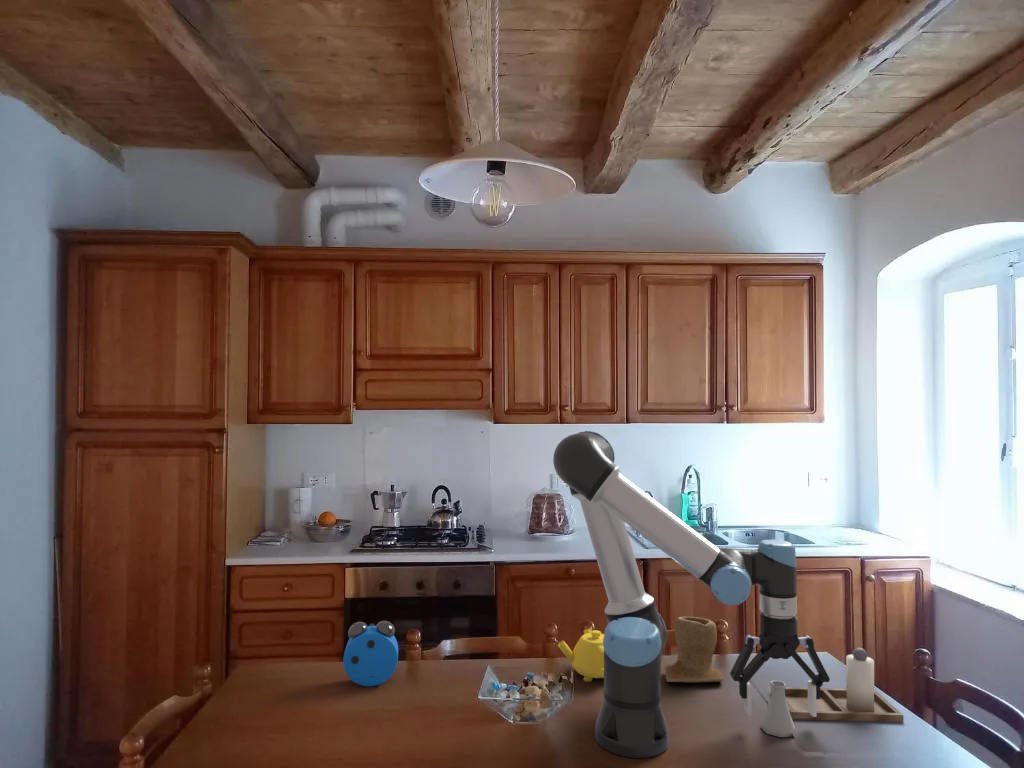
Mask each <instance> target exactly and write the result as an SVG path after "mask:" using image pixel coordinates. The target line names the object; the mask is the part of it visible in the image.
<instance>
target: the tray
mask: <svg viewBox="0 0 1024 768" xmlns="http://www.w3.org/2000/svg"><path fill="white" fill-rule="evenodd" d="M770 691H771V694H772V686H771V690H770ZM820 695H821V697H820V699H816V711H817V717H813V716H812V715H811V714H810V713H809V711H808V687H797V686H796V687H794V686H786V687H785V698H786V703H787V706H788V709H789V712H790V715H791V718H792V720H802V721H803V720H806V721H808V720H810V721H840V722H841V721H845V722H876V723H877V722H880V723H904V714H903V713H902V712H901V711H899V710H898V709H897V708H895V706H894V705H893V704H892V703H891V702H889V700H887V699H886V697H885V698H884V697H883V695H882V694H881V693H879V692H878V691H877V690H876V689H874V712H855V711H853V710H851V709H849V708H848V707H847V705H846V688H840V687H839V688H837V687H836V688H834V687H831V688H830V687H820Z"/></svg>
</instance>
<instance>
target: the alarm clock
mask: <svg viewBox="0 0 1024 768" xmlns="http://www.w3.org/2000/svg"><path fill="white" fill-rule="evenodd" d="M395 633H396V629H395V626H394V624H392V623H391V622H390V621H387V620H382V621H379V622H378V623H377V624H376V625H375V623H370V624H369V625H367V623H365V622H363V621H357V622H353V624H352V625H351V626H350V627H349V629H348V632H347V636H348V638H349V639H348V641H347V643H346V645H345V646H346V647H345V650H344V653H343V660H342V661H343V663H342V664H343V668H344V671H345V673H346V675H347V676H348V678H349V679H350V680H351V681H352V682H353V683H354V684H355V683H356V684H357V685H359V686H362V687H376V686H379V685H381V684H383V683H385V682H387V681H388V679H390V678H391V676H393V674H394V672H395V671H396V670H397V669H396V668H397V667H398V663H399V659H398V658H399V644H398V641H397V638H396V637H395Z"/></svg>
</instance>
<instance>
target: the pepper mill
mask: <svg viewBox="0 0 1024 768" xmlns="http://www.w3.org/2000/svg"><path fill="white" fill-rule="evenodd" d="M867 652H868V651H866V650H865V649H864V648H862V647H855V648H854V649H853V650H852V654H847V655H846V657H845V658H846V659H845V660H846V669H845V671H846V676H845V677H846V681H845V682H846V688H845V689H846V705H847V707H848V708H849V709H851V710H853V711H855V712H874V690H875V661H874V659H873V658H872V657H869V656H868V653H867Z"/></svg>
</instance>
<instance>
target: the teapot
mask: <svg viewBox="0 0 1024 768" xmlns="http://www.w3.org/2000/svg"><path fill="white" fill-rule="evenodd" d="M603 638H604V633H602V631H600V630H597V629H596V630H595V629H594V630H592V629H591V628H587V629H584V630H583V635H581V636H580V638H579V639H578V641H577V642H576V644H575V646H574V648H573V650H571V648H570V646H569V645H568V644H567V643H566V642H565V640H561V641H560V642H558V644H557V647H558V648H559V650H560V651H562V653H563V655H564V656H566V657H567V658H568V660H569V661H570V663H571V665H572V668H573V669H574V670H575V671H576V673H578V674H579V675H581V676H584V677H583V679H582V680H583V681H584V682H586V683H590V682H592V681H593V678H594V679H604V646H603Z"/></svg>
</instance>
